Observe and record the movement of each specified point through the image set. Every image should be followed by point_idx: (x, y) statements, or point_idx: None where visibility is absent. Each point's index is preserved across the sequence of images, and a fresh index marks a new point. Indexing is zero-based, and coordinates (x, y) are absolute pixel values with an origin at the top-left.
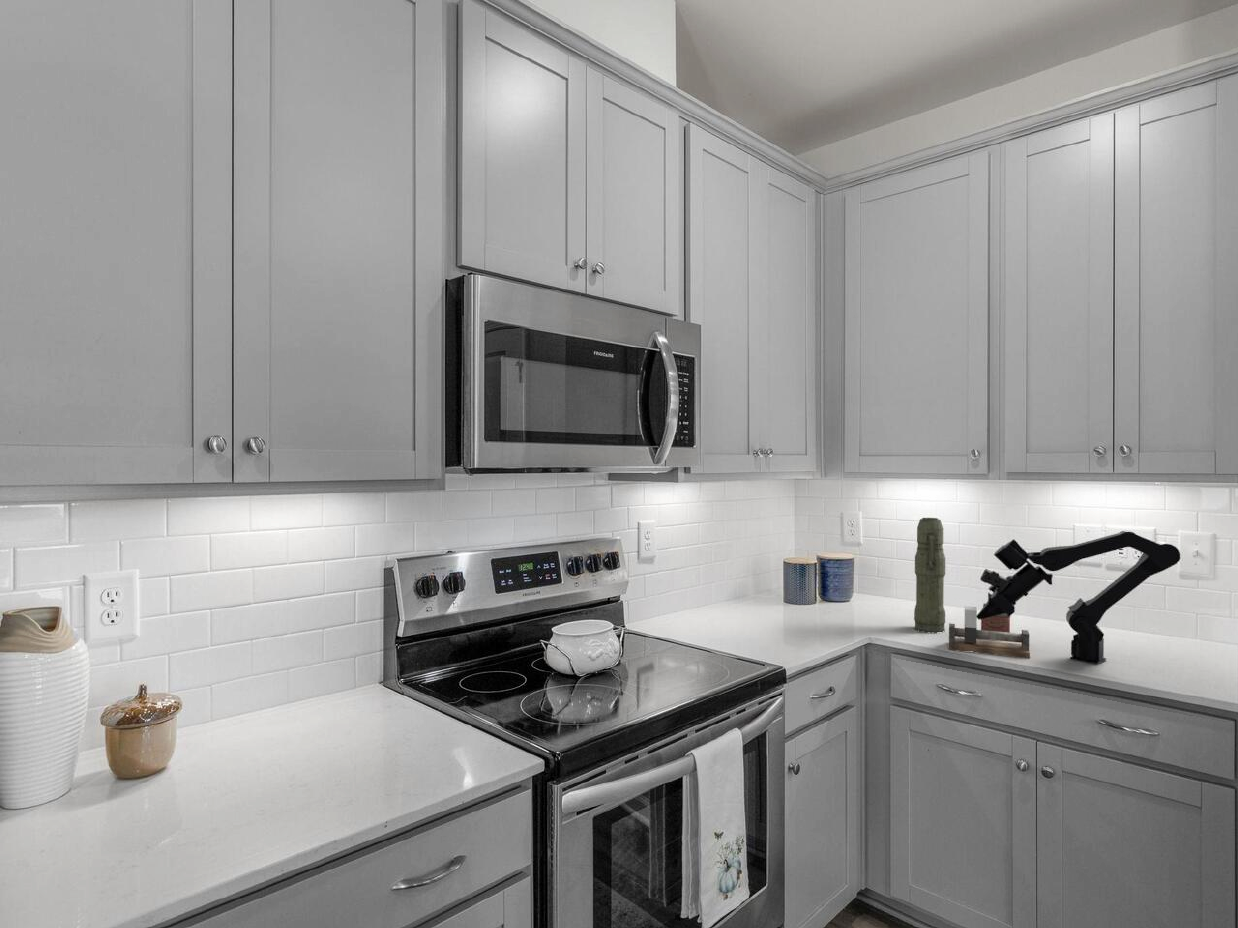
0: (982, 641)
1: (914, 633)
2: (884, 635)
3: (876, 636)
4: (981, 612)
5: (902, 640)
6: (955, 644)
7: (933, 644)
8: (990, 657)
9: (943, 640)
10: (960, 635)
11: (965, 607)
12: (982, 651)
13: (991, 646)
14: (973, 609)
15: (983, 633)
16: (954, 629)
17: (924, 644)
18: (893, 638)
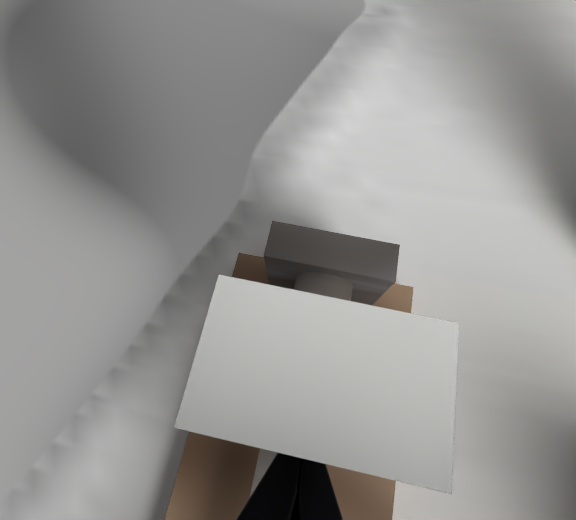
0: (366, 477)
1: (535, 167)
2: (437, 57)
3: (407, 32)
4: (244, 513)
5: (371, 106)
6: None
7: (335, 214)
8: (112, 452)
9: (438, 274)
10: None
11: (357, 311)
12: None
13: (235, 506)
14: (235, 393)
15: (259, 474)
16: (266, 259)
17: (323, 177)
18: (395, 80)
